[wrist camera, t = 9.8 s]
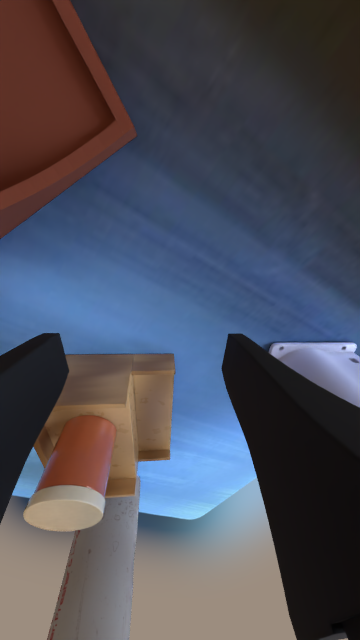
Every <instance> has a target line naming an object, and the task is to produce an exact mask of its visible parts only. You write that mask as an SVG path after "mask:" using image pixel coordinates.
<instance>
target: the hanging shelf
mask: <svg viewBox="0 0 360 640" xmlns="http://www.w3.org/2000/svg"><path fill="white" fill-rule="evenodd" d="M87 66H88V67H87ZM136 136H137V134H136V131H135V128H134V126H133V124H132V122H131V120H130V118H129V116H128V114H127V112H126V110H125V108H124V106H123V104H122V102H121V100H120V98H119V96H118V94H117V92H116V90H115V88H114V86H113V84H112V82H111V80H110V78H109V76H108V74H107V72H106V70H105V68H104V66H103V65H102V63H101V61H100V59H99V57H98V55H97V53H96V51H95V49H94V47H93V45H92V43H91V41H90V39H89V37H88V35H87V33H86V31H85V29H84V27H83V25H82V23H81V21H80V19H79V17H78V15H77V13H76V11H75V9H74V7H73V5H72V3H71V2H70V0H0V239H1V238H2V237H4V236H5V235H6V234H7V233H9V232H10V231H11V230H13V229H14V228H15V227H17V226H18V225H19V224H21V223H22V222H23V221H25V220H26V219H27V218H29V217H30V216H31V215H33V214H34V213H35V212H37V211H38V210H39V209H41V208H42V207H43V206H45V205H46V204H47V203H49V202H50V201H51V200H53V199H54V198H55V197H57V196H58V195H59V194H61V193H62V192H63V191H65V190H66V189H67V188H69V187H70V186H71V185H73V184H74V183H75V182H76V181H78V180H79V179H80V178H82V177H83V176H84V175H86V174H87V173H88V172H90V171H91V170H92V169H94V168H95V167H96V166H98V165H99V164H100V163H102V162H103V161H104V160H106V159H107V158H108V157H110V156H111V155H112V154H114V153H115V152H116V151H118V150H119V149H120V148H122V147H123V146H124V145H126V144H127V143H128V142H130V141H131V140H132V139H134V138H135V137H136Z"/></svg>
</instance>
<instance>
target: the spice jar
mask: <svg viewBox="0 0 360 640" xmlns="http://www.w3.org/2000/svg"><path fill="white" fill-rule="evenodd" d="M116 437H117V430H116V427H115V426H114V424H113V423H111V422H110V421H109V420H107V419H105V418H102V417H99V416H93V415H83V416H78V417H74V418H72V419H70V420H69V421H67V422H66V423H65V424H64V426H63V428H62V430H61V433H60V435H59V437H58V440H57V442H56V444H55V446H54V449H53V451H52V453H51V455H50V458H49V460H48V462H47V465H46V467H45V469H44V471H43V474H42V476H41V478H40V481H39V483H38V485H37V487H36V490H35V492H34V494H33V495H32V496H31V497H30V499H29V502H28V504H27V506H26V508H25V511H24V515H23V516H24V519H25V520H26V521H27V522H28V523H29V524H31V525H33V526H35V527H38V528H42V529H45V530H51V531H74V530H81V529H85V528H88V527H91V526H93V525H95V524H97V523H98V522H100V520H101V519H102V517H103V513H104V508H105V495H106V489H107V484H108V479H109V474H110V468H111V463H112V458H113V452H114V447H115V442H116Z"/></svg>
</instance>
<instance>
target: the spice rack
mask: <svg viewBox="0 0 360 640" xmlns="http://www.w3.org/2000/svg"><path fill="white" fill-rule="evenodd" d="M65 356H66V360H67V364H68V368H69V373H68V376H67V379H66V382H65V385H64V387H63V390H62V393H61V395H60V397H59V399H58V400H57V402H56V404H55V406H54V408H53V410H52V412H51V414H50V416H49V418H48V419H47V421H46V423H45V425H44V427H43V429H42V431H41V433H40V434H39V436H38V438H37V440H36V442H35V444H34V448H35V450H36V452H37V454H38V456H39V458H40V460H41V462H42V464H43V466H44V468H45V467H46V465H47V462H48V460H49V458H50V455H51V453H52V451H53V449H54V446H55V444H56V442H57V440H58V437H59V435H60V433H61V430H62V428H63V426H64V424H65V423H66V422H67V421H69V420H70V419H72V418H74V417H78V416H83V415H93V416H99V417H102V418H105V419H107V420H109V421H110V422H111V423H113V424H114V426H115V427H116V430H117V437H116V442H115V447H114V452H113V458H112V463H111V468H110V474H109V479H108V484H107V489H106V495H105V498H114V497H127V496H135V491H136V480H137V468H138V461H156V460H170V438H171V420H172V402H173V384H174V374H175V361H174V354H82V355H65Z"/></svg>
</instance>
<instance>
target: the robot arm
mask: <svg viewBox="0 0 360 640" xmlns="http://www.w3.org/2000/svg"><path fill="white" fill-rule="evenodd" d="M280 347H281V348H280ZM356 347H357V345H356V344H354V343H352V342H348V343H274V344H272V345H271V347H270V350H269V353H268V352H267V351H266V350H264V349H263V348H262V347H260V346H259V345H258V344H256V343H255V342H253V341H252V340H251V339H249V338H248V337H246V336H245V335H243V334H228V339H227V344H226V349H225V354H224V359H223V364H222V373H223V377H224V381H225V385H226V389H227V392H228V394H229V397H230V400H231V402H232V405H233V408H234V410H235V413H236V415H237V418H238V420H239V423H240V426H241V428H242V431H243V433H244V436H245V439H246V441H247V444H248V447H249V450H250V454H251V457H252V461H253V464H254V468H255V471H256V475H257V479H258V482H259V486H260V490H261V494H262V497H263V501H264V505H265V509H266V513H267V517H268V521H269V525H270V529H271V534H272V538H273V542H274V546H275V551H276V555H277V560H278V564H279V569H280V573H281V578H282V582H283V587H284V592H285V597H286V601H287V606H288V611H289V615H290V619H291V622H292V625H293V629H294V631H295V635H296V638H297V640H338V639H344V638H348V640H360V357H359V356H357V355H356V354H355V353H354V351H355V349H356ZM68 373H69V368H68V364H67V360H66V356H65V353H64V349H63V345H62V342H61V338H60V334H59V333H43V334H41V335H39V336H36V337H34V338H32V339H31V340H29V341H27V342H25V343H23V344H21V345H19V346H17V347H16V348H14V349H12V350H10V351H8V352H6V353H5V354H3V355H1V356H0V523H1V521H2V518H3V516H4V513H5V511H6V508H7V505H8V503H9V500H10V498H11V495H12V493H13V490H14V488H15V486H16V483H17V481H18V479H19V476H20V474H21V471H22V469H23V467H24V464H25V462H26V460H27V458H28V456H29V454H30V452H31V450H32V448H33V446H34V444H35V442H36V440H37V438H38V436H39V434H40V433H41V431H42V429H43V427H44V425H45V423H46V421H47V419H48V418H49V416H50V414H51V412H52V410H53V408H54V406H55V404H56V402H57V400H58V399H59V397H60V395H61V393H62V390H63V387H64V385H65V382H66V379H67V376H68Z"/></svg>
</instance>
